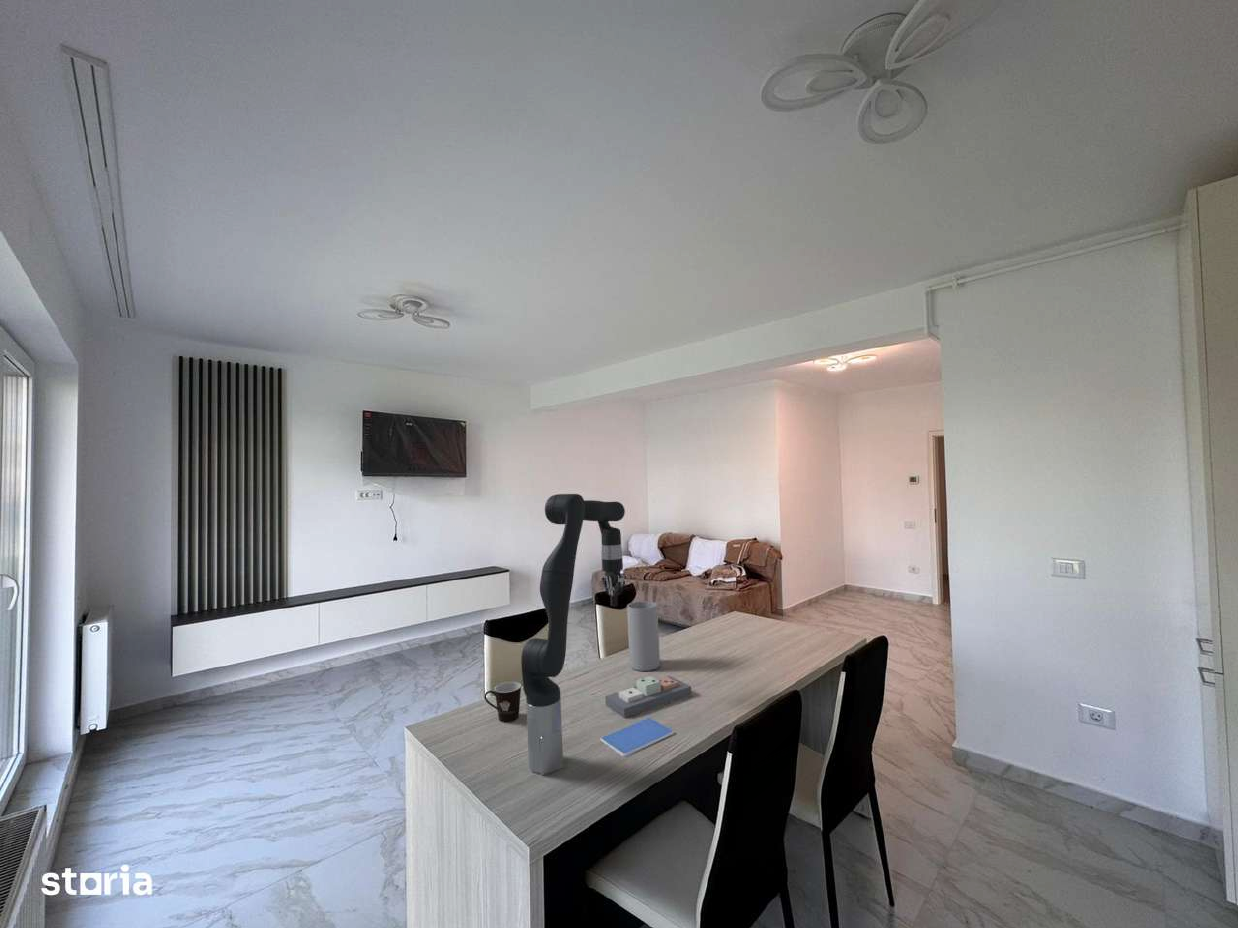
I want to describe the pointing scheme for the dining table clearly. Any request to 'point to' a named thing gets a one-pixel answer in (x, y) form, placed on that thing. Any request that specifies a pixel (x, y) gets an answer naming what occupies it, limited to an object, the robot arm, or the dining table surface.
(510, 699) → the coffee mug
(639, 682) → the key two pips
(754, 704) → the dining table surface
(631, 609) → the cylinder vase
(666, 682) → the key three pips
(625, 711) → the keypad board
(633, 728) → the blue flat rectangular panel
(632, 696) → the key one pip
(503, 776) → the dining table surface
